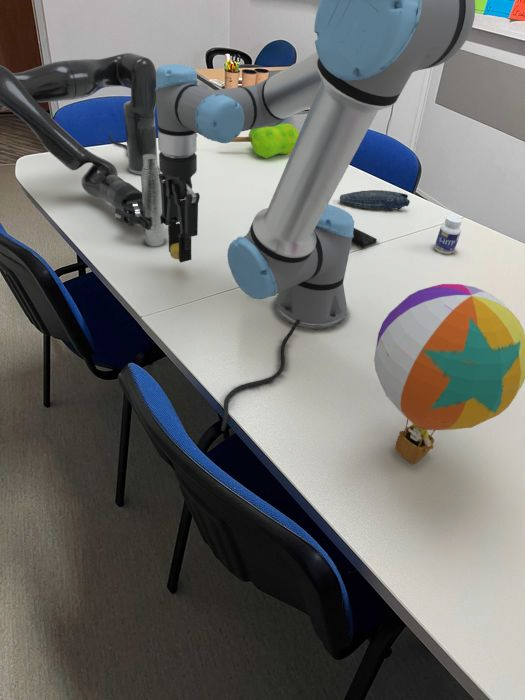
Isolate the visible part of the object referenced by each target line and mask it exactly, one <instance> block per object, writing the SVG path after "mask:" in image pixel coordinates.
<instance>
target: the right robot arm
mask: <svg viewBox="0 0 525 700" xmlns="http://www.w3.org/2000/svg"><path fill="white" fill-rule="evenodd" d="M315 14H316V15H315V19H314V28H313V31H314V33H315V34H316V38H317V39H316V40H315V41H314V45H315V46H314V47H315V50H316V52H314V53H312V54H310V55H308V56H306V57H305V58H303V59H301V60H299V61H297V62H296V63H293V64H292V65H290V66H288V67H286V68H284V69H282V70H280V71H279V72H277V73H275V74H273V75H271V76H270V77H268V78H266V79H265V80H262V81H261V82H260V81H259V83H256V84H252V85H246V86H238V87H227V88H220V89H208V88H205V87H202V86H201V85H198V82H199V80H198V73H197V71H196V69H195V68H193V67H192V66H189V65H185V64H179V63H178V64H177V63H169V64H168V63H167V64H163V65H159V66H158V67H157V69H156V88H155V91H156V102H157V104H156V118H157V143H158V145H157V148H158V151H159V154H158V160H159V161H158V163H159V164H158V167H159V172H161V173H160V174H159V180H160V185H161V202H162V217H163V218H166V222H167V224H168V225H167V235H168V252H169V253H170V249H171V248H170V247H171V245H173V244H175V243H179V260H178V261H179V262H180V263H185V262H188V261H192V237H195V236H198V227H199V202H200V197H201V195H200V193H199V192H194V190H193V183H192V177H193V176H194V175H195V174H197V171H198V164H197V163H198V158H197V157H198V155H197V154H196V152H197V138H198V135H200V136H202V137H204V138H206V139H207V140H210V141H212V142H217V143H219V144H229V143H233V142H232V141H233V139H235V138H236V137H239V136H240V134H241V132H245V131H250V130H251V129H256V128H262V127H272V126H276V125H279V124H285V123H287V122H288V121H289V120H290V118H291V117H292V116H294V115H297V114H300V113H301V112H304V111H305V110H308V111H307V115H306V117H305V119H304V121H303V123H302V125H301V129H300V130H299V136H298V138H297V140H296V143H295V145H294V148H293V150H292V152H291V153H290V154H289V158H288V159H287V161H286V164H285V167H284V169H283V172H282V173H281V177H280V179H279V181H278V184H277V186H276V188H275V191H274V193H273V195H272V198H271V199H270V202H269V205H268V207H267V208H264V209H261V210H260V211H258V212H257V213H256V214H255V216H254V218H253V219H252V222H251V225H250V227H249V230H248V232H247V233H246V234H245V235H244V236H238V237H236V238H235V239H234V240H232V241H231V242H230V244H229V245H228V248H227V264H228V268H229V270H230V273H231V276H232V278H233V280H234V282H235V283H236V284H237V286H238V288H239V289H240V290H241V291H242V292H243V293H244V294H246V295H247V296H248V297H250V298H251V299H256V300H264V299H267V298H271V297H272V298H273V297H275V296H276V295H277V296H276V300H275V311H276V313H277V315H278V316H279V317H280V318H281V319H282V320H283V321H284V322H286V323H287V324H289V325H291V326H292V327H291V328H290V330H289V331H288V333H287V334H286V335H285V337H284V339H283V341H282V343H281V345H280V351H279V353H280V355H279V356H280V365H279V368H278V370H277V371H276V372H275V373H274V374H272V375H271V376H269V377H267V378H263V379H259V380H255V381H251V382H246V383H243V384H240V385H238V386H235V387H234V388H233V389H232V390H230V391H229V393H228V394H227V395H226V396H225V398H224V401H223V417H222V423H221V427H220V431H221V432H225V431H226V428H227V424H228V418H229V402H230V400H231V398H232V397H233V396H234V395H235V394H236V393H238V392H240V391H242V390H244V389H247V388H250V387H255V386H260V385H264V384H267V383H270V382H272V381H274V380H276V379H277V378H278V377H279V376H281V374H282V373H283V372H284V369H285V365H286V364H285V363H286V360H285V359H286V358H285V350H286V349H285V348H286V345H287V343H288V341H289V340H290V338H291V336H292V335H293V334H294V332H295V331H296V329H297V328H300V329H304V330H310V331H324V330H325V331H326V330H329V329H333V328H336V327H337V326H339V325H340V324H342V323H343V322H344V320H345V318H346V315H347V310H348V307H347V306H348V305H347V297H346V292H345V286H344V280H345V275H346V271H347V267H348V261H349V257H350V251H351V246H352V238H353V237H354V235H353V230H354V228H355V220H354V218H353V215H351V214H350V213H349V212H348V211H346V210H345V209H343V208H340V207H338V206H335V205H332V204H329V203H330V201H331V200H332V198H333V196H334V194H335V192H336V190H337V188H338V186H339V184H340V183H341V181H342V179H343V177H344V175H345V173H346V172H347V169H348V168H349V166H350V164H351V162H352V161H353V158H354V156H355V155H356V153H357V151H358V149H359V147H360V146H361V143H362V141H363V140H364V138H365V136H366V134H367V133H368V130H369V129H370V126H371V125H372V123H373V121H374V119H375V118H376V116H377V113H378V112H379V111H381V110H384V109H388V108H391V107H393V106H394V105H395V104H396V102H397V101H398V99H399V97H400V95H401V94H402V92H403V90H404V88H405V86H406V85H407V83H408V81H410V80H409V79H410V78H411V76H412V74H413V73H415V72H417V71H421V70H426V69H432V68H434V67H438V66H440V65H442V64H444V63H446V62H447V61H449V60H450V59H451V58H453V57H454V56H455V55H456V54H457V53H458V51H460V49H462V47H463V46H464V44H465V43H466V41H467V40H468V38H469V35H470V33H471V32H472V29H473V25H474V22H475V16H476V0H320V1H319V4H318V7H317V10H316V13H315ZM166 211H167V212H166Z"/></svg>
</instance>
